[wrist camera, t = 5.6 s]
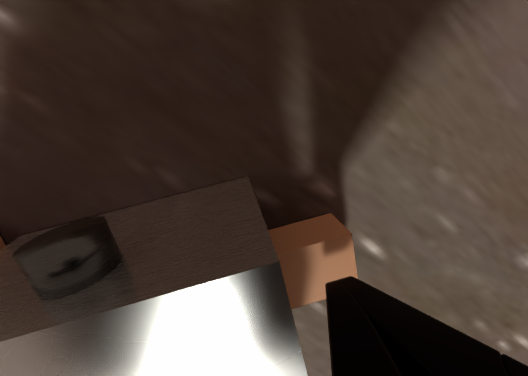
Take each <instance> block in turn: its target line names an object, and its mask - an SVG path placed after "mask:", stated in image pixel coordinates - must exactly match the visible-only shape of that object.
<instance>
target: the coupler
mask: <svg viewBox="0 0 528 376" xmlns="http://www.w3.org/2000/svg"><path fill="white" fill-rule="evenodd" d="M268 232H269V234H270V237H271V240H272V243H273V245H274V248H275V251H276V253H277V256H278V259H279V262H280V266H281V270H282V274H283V278H284V282H285V286H286V290H287V294H288V298H289V302H290V307H291V309H294V308H297V307H300V306H304V305H307V304H310V303H314V302H317V301H320V300H324V299H326V289H325V284H326V283H327V282H331V281H334V280H338V279H341V278H345V277H348V276H353V277H355V278H357V279H358V276H357V269H356V262H355V254H354V247H353V240H352V233H351V232H350V231H349V230H348V229H347V228H346V227H345V226H344V225H343V224H342V223H341V222H340V221H339V220H338V219H337V218H336V217H335V216H334V215H333V214H332V213H329V214H325V215H322V216H318V217H314V218H311V219H307V220H303V221H300V222H296V223H292V224H289V225H285V226H282V227H278V228H274V229H271V230H268ZM5 246H6V245H5V243H4V241H3V240H2V238H1V236H0V249H2V248H3V247H5Z"/></svg>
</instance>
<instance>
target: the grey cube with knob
mask: <svg viewBox="0 0 528 376" xmlns="http://www.w3.org/2000/svg"><path fill="white" fill-rule="evenodd" d="M0 376H307V372H306V368H305V364H304V360H303V356H302V352H301V347H300V343H299V339H298V335H297V331H296V327H295V323H294V319H293V315H292V311H291V307H290V302H289V298H288V294H287V290H286V286H285V282H284V278H283V274H282V270H281V266H280V262H279V259H278V256H277V253H276V251H275V248H274V245H273V243H272V240H271V237H270V234H269V232H268V229H267V226H266V223H265V221H264V218H263V215H262V213H261V210H260V207H259V204H258V202H257V199H256V196H255V194H254V191H253V188H252V185H251V183H250V180H249V177H248V176H246V177H242V178H238V179H235V180H231V181H227V182H223V183H219V184H215V185H212V186H208V187H204V188H200V189H196V190H193V191H189V192H185V193H181V194H177V195H174V196H170V197H166V198H162V199H158V200H154V201H151V202H147V203H143V204H139V205H135V206H132V207H128V208H124V209H120V210H116V211H112V212H109V213H105V214H101V215H97V216H93V217H89V218H85V219H81V220H77V221H74V222H71V223H67V224H63V225H59V226H55V227H51V228H48V229H44V230H40V231H36V232H32V233H29V234H25V235H21V236H20V237H18V238H17V239H15V240H14V241H12V242H11V243H9V244H8V245H6V246H5V247H3V248H2V249H0Z"/></svg>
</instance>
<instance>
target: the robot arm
mask: <svg viewBox="0 0 528 376" xmlns="http://www.w3.org/2000/svg"><path fill="white" fill-rule="evenodd" d="M325 289H326V303H327V316H328V330H329V343H330V357H331V370H332V376H528V366H527V365H525V364H523V363H521V362H519V361H517V360H515V359H513V358H511V357H509V356H507V355H505V354H502V355H501V354H500V352H499V351H497V350H495V349H493V348H491V347H489V346H487V345H485V344H483V343H481V342H480V341H478V340H476V339H474V338H472V337H470V336H468V335H466V334H464V333H462V332H460V331H458V330H456V329H454V328H452V327H450V326H448V325H446V324H444V323H443V322H441V321H439V320H437V319H435V318H433V317H431V316H429V315H427V314H425V313H423V312H421V311H419V310H417V309H415V308H413V307H411V306H409V305H407V304H406V303H404V302H402V301H400V300H398V299H396V298H394V297H392V296H390V295H388V294H386V293H384V292H382V291H380V290H378V289H376V288H374V287H372V286H370V285H369V284H367V283H365V282H363V281H361V280H359V279H357V278H355V277H353V276H348V277H345V278H341V279H338V280H334V281H331V282H327V283H326V284H325Z"/></svg>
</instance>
